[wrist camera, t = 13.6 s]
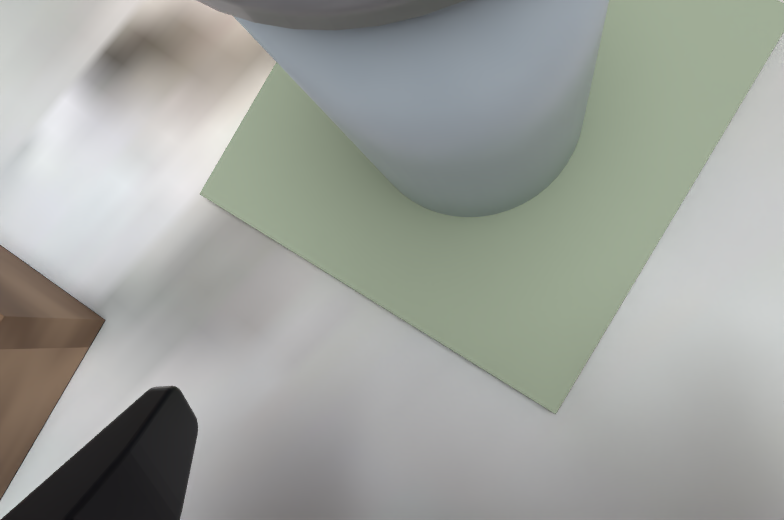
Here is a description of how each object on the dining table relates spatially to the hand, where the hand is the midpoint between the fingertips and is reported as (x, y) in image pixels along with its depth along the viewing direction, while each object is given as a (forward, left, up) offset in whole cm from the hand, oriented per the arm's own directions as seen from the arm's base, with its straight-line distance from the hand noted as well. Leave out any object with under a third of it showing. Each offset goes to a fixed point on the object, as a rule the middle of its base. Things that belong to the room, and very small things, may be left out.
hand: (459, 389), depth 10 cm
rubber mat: (+6, +4, -8) cm, 11 cm away
